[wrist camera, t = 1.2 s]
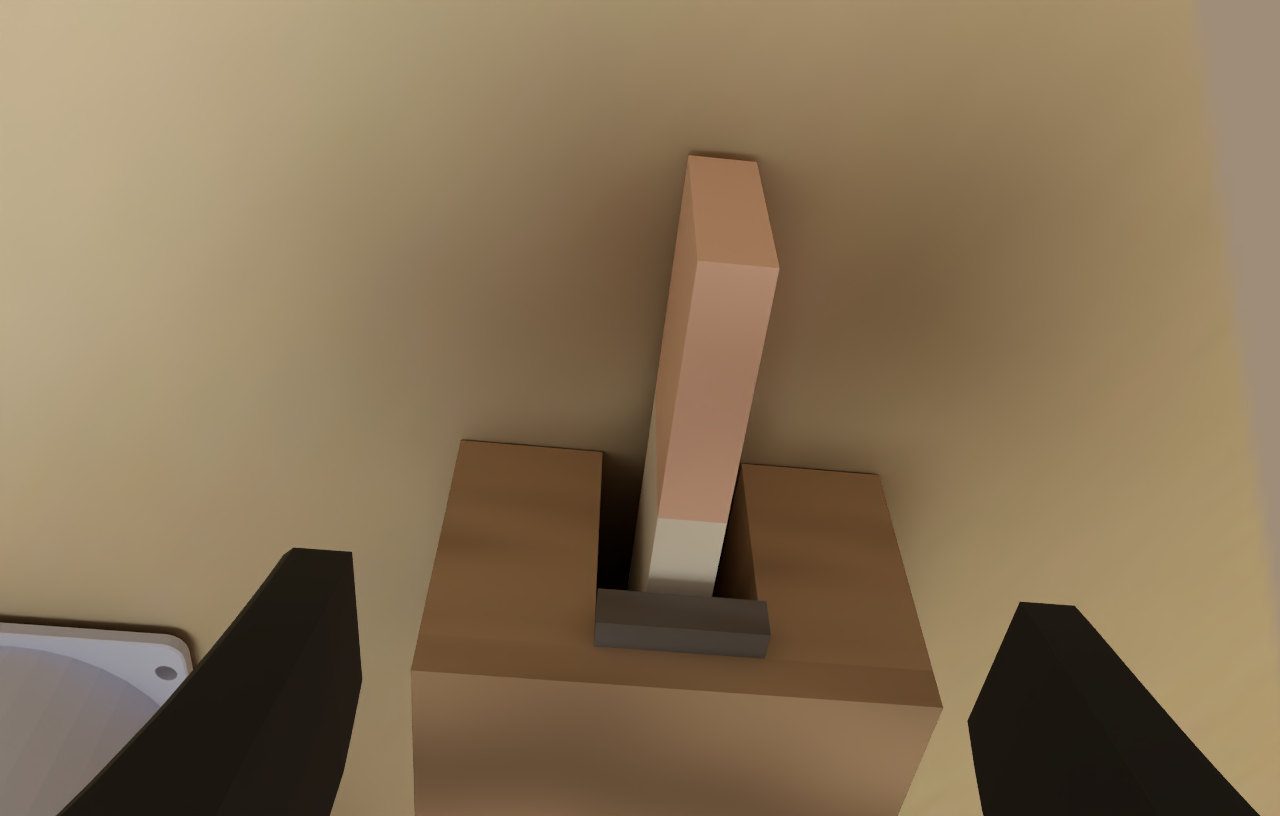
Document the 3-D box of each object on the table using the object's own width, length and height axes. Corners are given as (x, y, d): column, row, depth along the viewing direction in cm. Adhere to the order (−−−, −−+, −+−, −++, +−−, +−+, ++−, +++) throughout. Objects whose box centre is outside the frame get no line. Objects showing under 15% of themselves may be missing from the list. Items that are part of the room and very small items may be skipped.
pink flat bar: (670, 641, 26) (674, 778, 23) (620, 638, 26) (618, 775, 23) (757, 161, 19) (779, 268, 16) (688, 155, 19) (698, 260, 16)
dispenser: (814, 685, 28) (852, 923, 23) (458, 660, 27) (416, 898, 22) (885, 453, 23) (952, 684, 18) (461, 417, 23) (410, 645, 18)
